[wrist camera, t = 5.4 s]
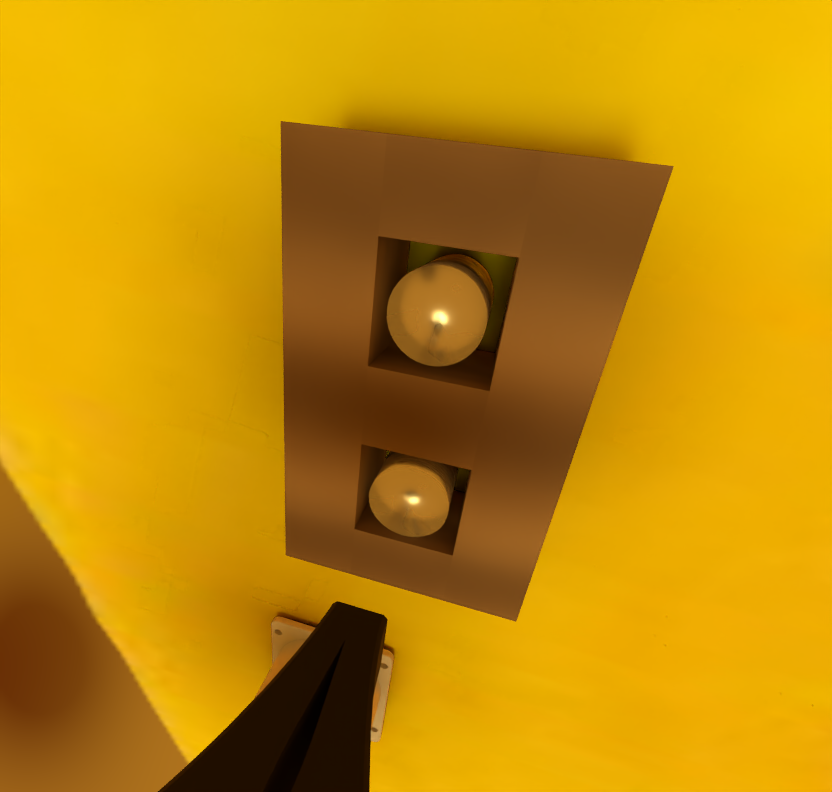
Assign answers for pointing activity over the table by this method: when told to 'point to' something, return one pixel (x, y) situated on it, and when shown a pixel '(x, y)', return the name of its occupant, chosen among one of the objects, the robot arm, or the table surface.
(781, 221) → the table surface
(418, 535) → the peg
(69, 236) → the table surface
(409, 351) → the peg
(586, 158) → the socket block
